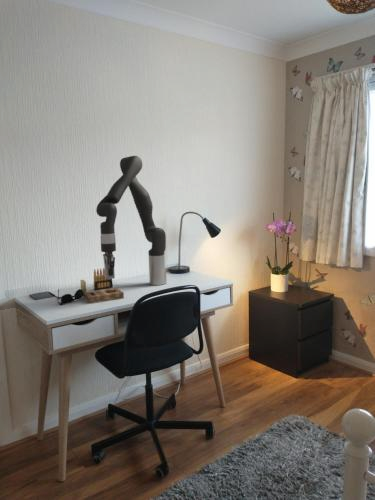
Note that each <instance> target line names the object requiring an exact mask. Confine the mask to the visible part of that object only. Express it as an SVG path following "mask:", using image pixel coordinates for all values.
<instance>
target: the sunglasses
mask: <svg viewBox="0 0 375 500" xmlns="http://www.w3.org/2000/svg"><path fill="white" fill-rule="evenodd" d="M59 293H60V290H59V288H58V290H57V295H55V294H53V293H52V292H50V291H48V294H49V295H51V296H52V297H54V298H57V302H58V304H59V306H63V305H66V304H71V303H72V302H75V301H78V300H81V299H84V295H83V290H82V289H81V288H79V289H77V290H76V291H75V293H74V295H72V294H71V293H65V294H63V295H61V296H60V294H59ZM59 299H60V301H59Z"/></svg>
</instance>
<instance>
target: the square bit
mask: <svg viewBox="0 0 375 500" xmlns="http://www.w3.org/2000/svg"><path fill="white" fill-rule="evenodd" d="M103 264H104V265H103V266H104V267H103V268H104V269H105V278H106V279H112V280H114V279H115V267H114V268H113V276H109V271H108V264H107V263H104V262H103ZM111 266H112V264H111Z"/></svg>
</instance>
